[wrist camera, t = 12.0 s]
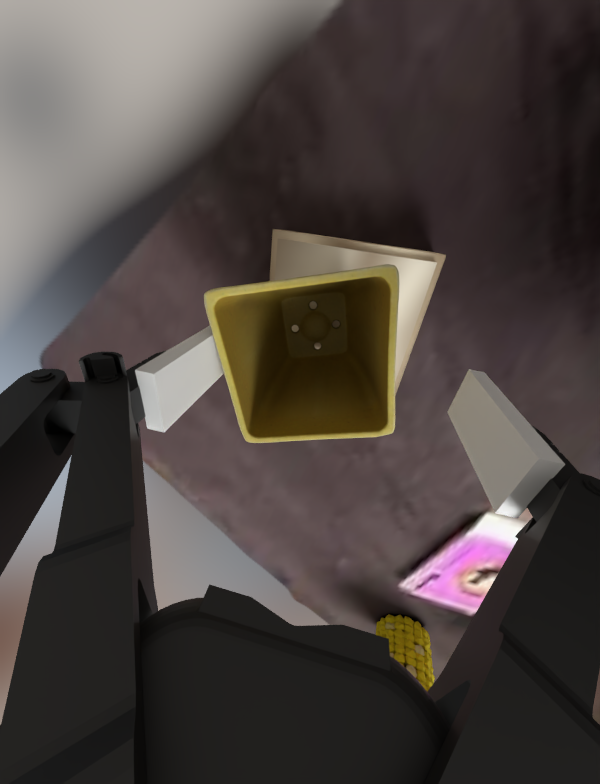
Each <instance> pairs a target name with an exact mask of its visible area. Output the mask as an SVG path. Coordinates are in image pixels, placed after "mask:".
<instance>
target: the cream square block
mask: <svg viewBox="0 0 600 784" xmlns="http://www.w3.org/2000/svg"><path fill="white" fill-rule="evenodd" d="M445 257H446V255H444V254H439V253H435V252H429V251H423V250H416V249H409V248H403V247H396V246H389V245H383V244H376V243H369V242H362V241H356V240H349V239H342V238H336V237H329V236H322V235H315V234H309V233H302V232H295V231H289V230H278V229H273V234H272V250H271V266H270V281H275V280H282V279H289V278H297V277H304V276H311V275H318V274H325V273H332V272H339V271H346V270H353V269H360V268H366V267H372V266H378V265H385V264H391V265H395V266H396V267H397V269H398V272H399V302H398V321H397V339H396V361H395V395H396V392H397V389H398V386H399V384H400V381H401V378H402V375H403V373H404V370H405V367H406V364H407V362H408V359H409V356H410V353H411V351H412V348H413V345H414V342H415V340H416V337H417V334H418V331H419V329H420V326H421V323H422V320H423V318H424V315H425V312H426V309H427V307H428V304H429V301H430V298H431V296H432V293H433V290H434V287H435V285H436V282H437V279H438V276H439V274H440V271H441V268H442V265H443V263H444V260H445ZM309 306H310V308H311V309H315V308H316V307H317V303H316V302H314V301H312V302H310V305H309ZM332 325H333V327H338V326H339V325H340V323H339V321H337V320H335V321H333V323H332ZM298 330H299V327H298V326H297V325H293V326H292V331H294V332H297V331H298ZM314 347H315V348H316V349H319V348H321V344H320V343H315V344H314Z"/></svg>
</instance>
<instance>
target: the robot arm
mask: <svg viewBox="0 0 600 784" xmlns="http://www.w3.org/2000/svg"><path fill="white" fill-rule="evenodd" d="M79 364H80V367H81V370H82V373H83V376H84V379H85V382H69V381H68V378H67V376H66V373H65V372H64V371H62V370H59V369H40V370H35V371H32V372H30V373H27V374H25V375H23V376H22V377H20V378H19V379H18V380H16V381H15V382H14V383H13V384H12V385H11V386H9V387H8V388H7V389H6V390H5V391H3V392H2V393H1V394H0V576H1V574H2V572H3V571H4V569H5V567H6V565H7V564H8V562H9V560H10V559H11V557H12V555H13V554H14V552H15V550H16V549H17V547H18V545H19V543H20V542H21V540H22V538H23V537H24V535H25V533H26V531H27V530H28V528H29V526H30V525H31V523H32V521H33V520H34V518H35V516H36V514H37V513H38V511H39V509H40V508H41V506H42V504H43V502H44V501H45V499H46V497H47V496H48V494H49V492H50V491H51V489H52V487H53V485H54V484H55V482H56V480H57V479H58V477H59V475H60V473H61V472H62V470H63V468H64V467H65V465H66V463H67V461H68V460H69V458H70V456H71V455H72V457H71V463H70V468H69V473H68V479H67V484H66V490H65V496H64V501H63V506H62V511H61V517H60V522H59V528H58V534H57V539H56V545H55V548H54V551H53V553H52V554H49V555H46V556H43V557H42V559H41V560H40V561H39V563H38V566H37V569H36V572H35V576H34V580H33V585H32V589H31V594H30V598H29V603H28V607H27V612H26V616H25V621H24V625H23V630H22V634H21V638H20V643H19V647H18V652H17V656H16V661H15V665H14V670H13V674H12V679H11V683H10V688H9V692H8V697H7V702H6V706H5V710H4V715H3V719H2V724H1V725H0V784H600V725H599V724H598V723H597V722H596V721H595V720H594V719H593V717H592V712H593V704H594V698H595V692H596V686H597V680H598V675H599V669H600V480H599V479H596V478H594V477H592V476H589V475H585V474H580V473H579V472H578V471H577V470H576V469H575V468H574V466H573V465H572V464H571V463H570V462H569V461H568V460H567V459H566V458H565V457H564V455H563V454H562V453H560V452H559V450H558V449H557V448H556V447H555V446H554V445H552V444H553V443H552V442H551V441H550V440H549V439H548V438H547V437H546V436H545V435H544V434H543V433H542V432H540V431H539V430H537V429H536V428H535V427H533V426H531V425H530V424H529V423H528V421H527V420H526V419H525V418H524V417H523V416H522V415H521V413H520V412H519V411H518V410H517V409H516V408H515V407H514V405H513V404H512V403H511V402H510V401H509V400H508V399H507V398H506V396H505V395H504V394H503V393H502V392H501V391H500V390H499V388H498V387H497V386H496V385H495V384H494V383H493V382H492V380H491V379H490V378H489V377H488V376H487V375H486V374H485V373H484V372H480V371H475V370H470V369H469V370H468V372H467V374H466V376H465V378H464V380H463V382H462V384H461V386H460V388H459V390H458V392H457V394H456V396H455V398H454V400H453V402H452V404H451V406H450V408H449V410H448V415H449V417H450V419H451V421H452V423H453V425H454V427H455V429H456V431H457V434H458V436H459V438H460V440H461V442H462V444H463V446H464V448H465V450H466V453H467V455H468V457H469V459H470V461H471V463H472V465H473V467H474V469H475V472H476V474H477V476H478V478H479V480H480V482H481V484H482V486H483V488H484V491H485V493H486V495H487V497H488V499H489V501H490V503H491V505H492V507H493V510H494V512H495V513H497V514H501V515H505V516H509V517H514V518H518V517H519V516H520V515H521V514H522V513H523V511H524V510H525V509H526V508H528V509H529V511H530V513H531V514H532V516H533V518H532V519H531V520H530V521H529V522H528V523H527V524H526V525H525V526H524V527H523V528H522V530H521V531H520V532H519V533H518V534H517V535H516V536H515V537H517V538H518V540H517V542H516V544H515V545H514V547H513V549H512V551H511V552H510V554H509V556H508V558H507V560H506V561H505V563H504V565H503V567H502V568H501V570H500V572H499V574H498V575H497V577H496V579H495V581H494V582H493V584H492V586H491V588H490V589H489V591H488V593H487V595H486V596H485V598H484V600H483V602H482V603H481V605H480V607H479V609H478V610H477V612H476V614H475V616H474V617H473V619H472V621H471V623H470V624H469V626H468V628H467V630H466V631H465V633H464V635H463V637H462V638H461V640H460V642H459V644H458V645H457V647H456V649H455V651H454V652H453V654H452V656H451V658H450V659H449V661H448V663H447V665H446V666H445V668H444V670H443V671H442V673H441V675H440V676H439V677H438V679H437V680H436V681H435V683H434V684H433V685H432V686H431V687H430V689H429V690H428V691H426V690H425V688H424V687H423V686H422V685H421V683H420V682H419V681H418V680H417V679H416V678H415V677H414V676H413V675H412V674H411V673H410V672H409V671H408V670H407V669H406V668H405V667H404V666H403V665H401V664H400V663H399V662H398V661H397V660H395V659H394V658H392V657H391V656H390V650H389V639H388V638H384V637H381V636H378V635H374V634H371V633H368V632H365V631H361V630H358V629H355V628H351V627H348V626H345V625H321V626H319V625H318V626H294V625H291V624H289V623H288V622H286V621H285V620H283V619H282V618H280V617H279V616H278V615H276V614H275V613H273V612H272V611H270V610H269V609H267V608H266V607H265V606H263V605H262V604H260V603H259V602H257V601H256V600H254V599H253V598H251V597H249V596H245V595H242V594H239V593H236V592H232V591H229V590H226V589H222V588H219V587H216V586H212V585H209V587H208V589H207V592H206V594H205V596H204V598H195V599H189V600H185V601H181V602H178V603H175V604H172V605H170V606H168V607H165V608H163V609H161V610H159V611H158V606H157V600H156V595H155V589H154V581H153V571H152V559H151V548H150V538H149V528H148V516H147V505H146V495H145V483H144V473H143V461H142V450H141V439H140V429H139V425H138V422H139V421H141V420H142V419H143V418H144V417H145V420H146V425H147V428H148V429H152V430H156V431H160V432H165V431H166V430H167V429H168V428H169V427H170V426H171V425H172V424H173V423H174V422H175V421H176V420H177V419H178V418H179V417H180V416H181V415H182V414H183V413H184V412H185V411H186V410H187V409H188V408H189V407H190V406H191V405H192V404H193V403H194V402H195V401H196V400H197V399H198V398H199V397H200V396H201V395H202V394H203V393H204V392H205V391H206V390H207V389H208V388H209V387H210V386H212V385H213V384H214V383H215V382H216V381H217V380H218V379H219V378H220V377H221V376H222V375H223V374H224V371H223V367H222V364H221V360H220V357H219V353H218V350H217V347H216V344H215V340H214V337H213V334H212V330H211V326H208V327H207V328H205V329H203V330H202V331H200V332H198V333H196V334H195V335H193V336H191V337H190V338H188V339H186V340H185V341H183V342H181V343H180V344H178V345H176V346H174V347H173V348H171V349H169V350H168V351H163V352H160V353H156V354H154V355H152V356H151V357H149V358H148V359H145V360H144V361H142V362H141V363H138V364H137V365H135V366H133V367H131V368H130V369H128V370H126V369H125V364H124V360H123V357H122V355H121V354H119V353H116V352H97V353H92V354H88V355H86V356H84V357H82V358H81V359H80V360H79Z"/></svg>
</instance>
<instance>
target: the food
mask: <svg viewBox="0 0 600 784" xmlns="http://www.w3.org/2000/svg"><path fill="white" fill-rule="evenodd" d="M376 635H378V636H381V637H384V638H388V639H389V650H390V656H391V657H392V658H394V659H395V660H397V661H398V662H399V663H400V664H401V665H403V666H404V667H405V668H406V669H407V670H408V671H409V672H410V673H411V674H412V675H413V676H414V677H415V678H416V679H417V680H418V681H419V682H420V683H421V685H422V686H423V687H424V688H425V690H426V691H428V690H429V689H430V687H431V686H432V685H433V684H434V683H433V682H434V679H435V677H434V675H433V668H432V659H431V649H430V644H431V643H430V641H429V640H430V637H429V634H428V632H427V631H426V630H425V629H424V628H423V627H421V624H420V623H419V622H418V621H416V622H414V621H413V620H412V619H410V618H409V617H407V616H405V617H404V618H403V617H402V616H401V615H397V616H393V615H390V614H388V615H387V616H386V617H385V618H381V620H380V621H378V622H377V627H376Z"/></svg>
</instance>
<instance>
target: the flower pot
mask: <svg viewBox="0 0 600 784" xmlns="http://www.w3.org/2000/svg"><path fill="white" fill-rule="evenodd" d="M312 301H314V302H316V303H317V307H316V308H315V309H311V308H310V306H309V305H310V302H312ZM398 302H399V272H398V269H397V267H396V266H395V265H391V264H385V265H378V266H372V267H366V268H360V269H353V270H346V271H339V272H332V273H325V274H318V275H311V276H304V277H297V278H289V279H282V280H275V281H267V282H260V283H253V284H245V285H239V286H230V287H221V288H215V289H211V290H209V291H207V292H206V293H205V294H204V303H205V308H206V313H207V316H208V319H209V323H210V326H211V330H212V334H213V337H214V340H215V344H216V347H217V350H218V353H219V357H220V360H221V364H222V367H223V371H224V374H225V378H226V381H227V384H228V387H229V391H230V394H231V398H232V402H233V405H234V408H235V412H236V416H237V419H238V423H239V426H240V429H241V432H242V434H243V436H244V438H245V440H246V441H247V442H250V443H267V442H281V441H298V440H314V439H336V438H364V437H378V436H383V435H388V434H391V433H393V431H394V429H395V361H396V339H397V321H398ZM335 320H337V321H339V323H340V325H339V326H338V327H333V325H332V323H333V321H335ZM293 325H297V326H298V327H299V330H298V331H297V332H294V331H292V326H293ZM315 343H320V344H321V348H319V349H316V348H315V347H314V344H315Z"/></svg>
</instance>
